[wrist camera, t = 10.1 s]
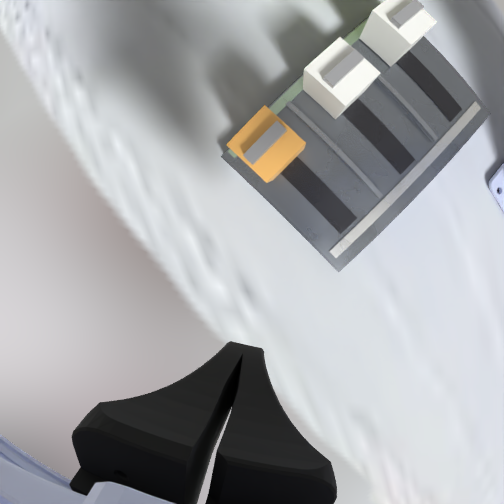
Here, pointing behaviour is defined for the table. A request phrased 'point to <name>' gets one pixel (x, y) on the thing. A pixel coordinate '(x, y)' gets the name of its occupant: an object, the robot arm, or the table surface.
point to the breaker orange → (266, 144)
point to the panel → (368, 149)
